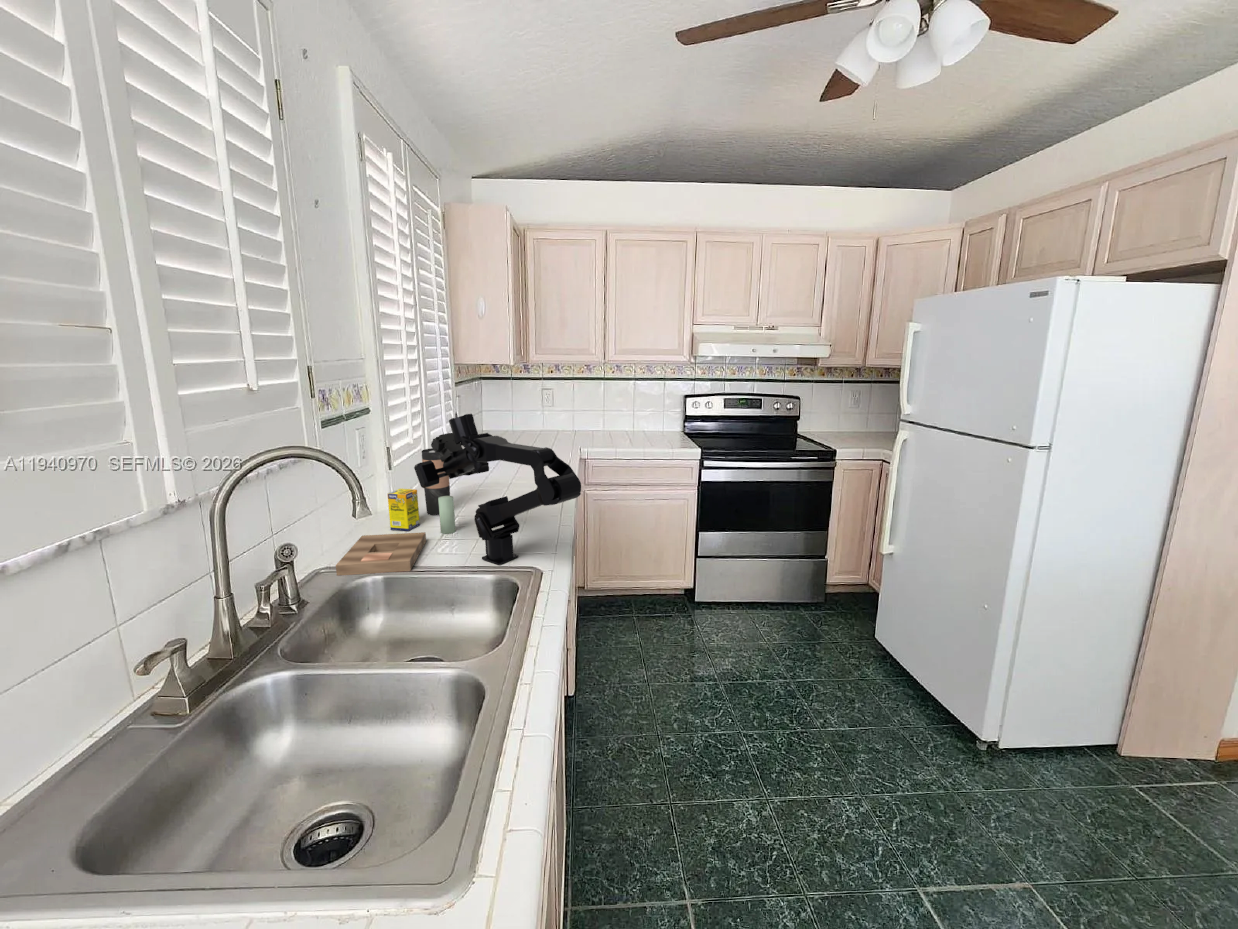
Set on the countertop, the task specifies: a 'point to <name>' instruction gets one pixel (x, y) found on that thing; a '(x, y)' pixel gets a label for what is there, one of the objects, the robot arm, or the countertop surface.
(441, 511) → the peg
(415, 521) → the supplement box
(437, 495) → the travel mug
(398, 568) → the hole plate
